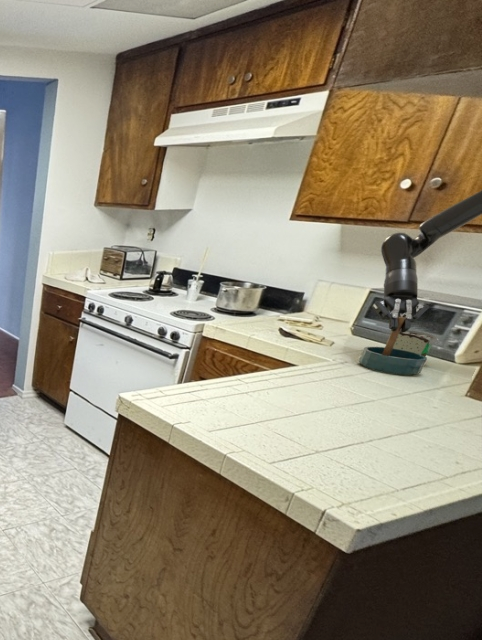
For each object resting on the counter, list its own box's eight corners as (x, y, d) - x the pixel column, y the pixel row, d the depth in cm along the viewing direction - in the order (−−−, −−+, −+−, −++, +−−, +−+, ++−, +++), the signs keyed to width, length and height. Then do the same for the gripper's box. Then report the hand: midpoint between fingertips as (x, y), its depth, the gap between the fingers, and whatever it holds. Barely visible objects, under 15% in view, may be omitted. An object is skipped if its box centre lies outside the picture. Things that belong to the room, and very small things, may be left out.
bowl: (408, 366, 157) (415, 350, 155) (428, 379, 145) (436, 362, 143) (351, 359, 163) (357, 344, 161) (366, 371, 151) (373, 355, 149)
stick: (389, 360, 155) (408, 317, 149) (394, 364, 151) (414, 319, 146) (371, 358, 157) (389, 315, 151) (376, 362, 153) (395, 317, 148)
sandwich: (437, 367, 156) (451, 338, 153) (418, 367, 156) (432, 338, 153) (401, 356, 168) (413, 329, 164) (383, 356, 168) (395, 328, 164)
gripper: (378, 277, 153) (377, 321, 148) (436, 280, 147) (437, 326, 142) (366, 291, 160) (365, 333, 154) (421, 295, 154) (421, 339, 148)
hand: (399, 330), depth 148 cm, fingers closed on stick, 2 cm apart
